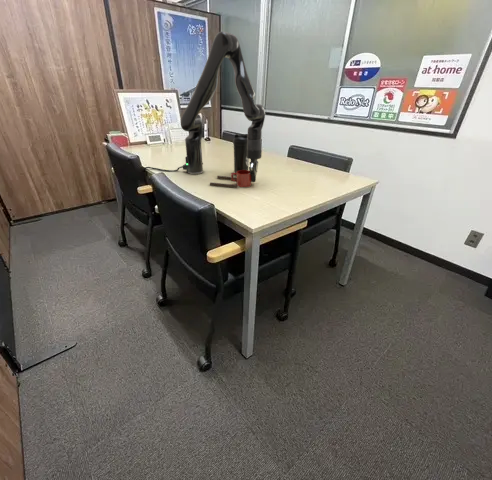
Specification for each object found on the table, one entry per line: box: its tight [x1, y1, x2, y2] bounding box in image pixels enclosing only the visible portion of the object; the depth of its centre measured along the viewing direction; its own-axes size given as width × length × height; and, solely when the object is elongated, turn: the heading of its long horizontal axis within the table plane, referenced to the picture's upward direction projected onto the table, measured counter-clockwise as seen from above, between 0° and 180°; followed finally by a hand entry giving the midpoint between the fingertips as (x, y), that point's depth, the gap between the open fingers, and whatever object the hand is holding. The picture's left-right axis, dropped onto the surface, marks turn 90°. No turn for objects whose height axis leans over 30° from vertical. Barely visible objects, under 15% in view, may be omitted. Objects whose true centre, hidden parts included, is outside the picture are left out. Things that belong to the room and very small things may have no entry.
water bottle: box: [232, 133, 250, 173], centre depth 156 cm, size 10×10×23 cm
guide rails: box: [209, 175, 238, 189], centre depth 147 cm, size 15×14×2 cm
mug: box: [230, 169, 253, 188], centre depth 143 cm, size 11×8×7 cm
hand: (253, 181), depth 143 cm, fingers closed
